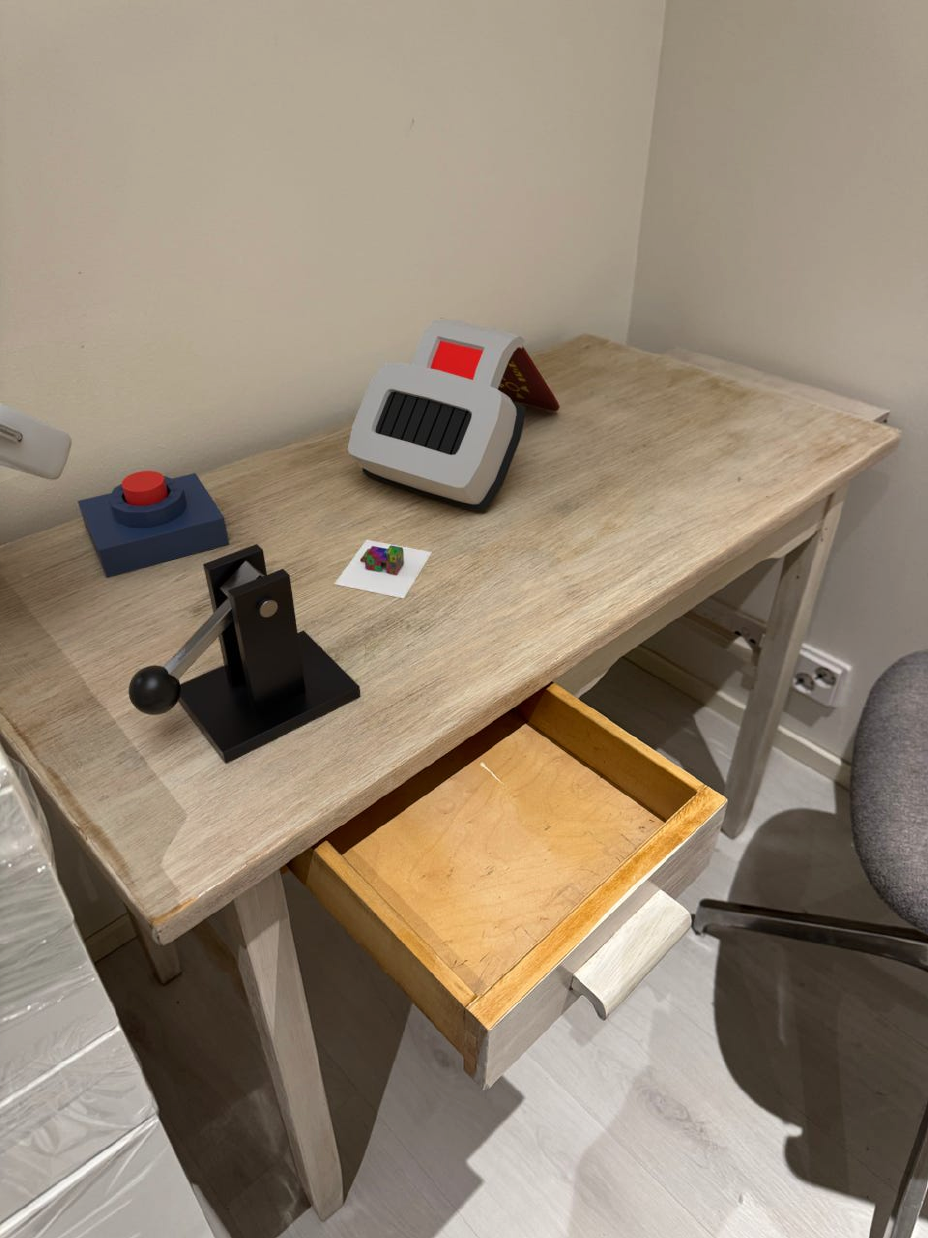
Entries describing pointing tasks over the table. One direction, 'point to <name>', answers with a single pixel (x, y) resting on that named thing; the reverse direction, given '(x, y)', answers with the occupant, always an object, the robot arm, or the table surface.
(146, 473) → the stop button
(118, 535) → the stop box
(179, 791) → the table surface
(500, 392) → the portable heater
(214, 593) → the switch bracket
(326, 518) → the table surface
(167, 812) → the table surface
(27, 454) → the robot arm
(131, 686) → the lever
